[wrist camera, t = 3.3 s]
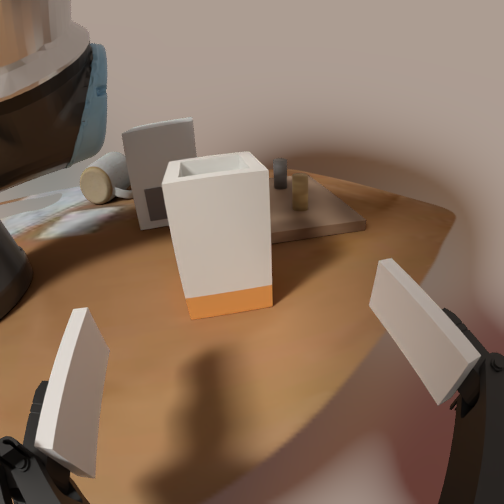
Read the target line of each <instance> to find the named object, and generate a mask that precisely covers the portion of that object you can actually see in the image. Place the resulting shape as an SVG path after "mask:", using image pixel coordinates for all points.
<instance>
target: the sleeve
mask: <svg viewBox="0 0 504 504" xmlns="http://www.w3.org/2000/svg"><path fill="white" fill-rule="evenodd" d="M162 190H163V195H164V201H165V206H166V212H167V217H168V222H169V227H170V232H171V237H172V242H173V246H174V251H175V256H176V260H177V265H178V269H179V273H180V278H181V282H182V286H183V290H184V294H185V298H186V302H187V306H188V310H189V314H190V318H191V320H194V319H200V318H207V317H213V316H220V315H226V314H232V313H238V312H244V311H250V310H255V309H261V308H267V307H272V306H273V300H272V258H271V224H270V196H269V171H268V169H267V168H266V167H265V166H264V165H263V164H262V163H260V162H259V161H258V160H257V159H256V158H255V157H254V156H253V155H252V154H251V153H250V152H249V151H247V152H237V153H228V154H220V155H211V156H204V157H196V158H189V159H183V160H176V161H170V162H169V163H168V166H167V169H166V172H165V175H164V178H163V182H162Z"/></svg>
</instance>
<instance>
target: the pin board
mask: <svg viewBox="0 0 504 504" xmlns="http://www.w3.org/2000/svg"><path fill="white" fill-rule="evenodd" d="M273 164H274V165H273V167H274V178H269V196H270V224H271V244H273V243H280V242H286V241H293V240H300V239H307V238H314V237H320V236H327V235H334V234H341V233H348V232H355V231H362V230H365V227H366V219H364V218H363V217H362V216H361V215H359V214H358V213H357V212H356V211H354V210H353V209H352V208H351V207H349V206H348V205H347V204H346V203H344V202H343V201H342V200H341V199H339V198H338V197H337V196H335V195H334V194H333V193H331V192H330V191H329V190H328V189H326V188H325V187H324V186H322V185H321V184H320V183H318V182H317V181H316V180H314V179H313V178H311V177H310V176H309V175H307V174H304V173H296V174H293V175H292V176H287V160H286V159H282V158H281V159H274V160H273Z"/></svg>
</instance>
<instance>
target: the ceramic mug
mask: <svg viewBox="0 0 504 504" xmlns="http://www.w3.org/2000/svg"><path fill="white" fill-rule="evenodd" d="M130 185H131V184H130V179H129V174H128V168H127V163H126V157H125V156H124V155H123V154H121V153H119V152H110V153H107V154H106V155H104V156H103V157H101V158H100V159H98V160H97V161H96V162H94V163H92V164H91V165H89V166H88V167H87V168H86V169H85V170H84V172H83V173H82V175H81V178H80V187H81V191H82V193H83V195H84V196H85V198H86V199H87V200H89V201H90V202H92V203H94V204H104V203H106V202H108V201H110V200H111V199H113V198H114V197H115V196H117V197H120V198H125V199H130V198H133V194H132V190H131V191H128V190H125V189H127V188H128V187H129V186H130Z"/></svg>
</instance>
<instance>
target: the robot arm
mask: <svg viewBox="0 0 504 504" xmlns="http://www.w3.org/2000/svg"><path fill="white" fill-rule="evenodd" d="M106 84H107V58H106V52H105V48H104V46H103V45H101V44H93V43H92V44H90V37H89V32H88V31H87V29H86V28H85V27H83V26H81V25H79V24H77V23H76V22H73V21H72V20H71V0H0V192H2V191H4V190H7V189H9V188H12V187H14V186H16V185H19V184H22V183H24V182H27V181H30V180H32V179H35V178H38V177H40V176H43V175H46V174H49V173H52V172H55V171H58V170H61V169H64V168H69V167H71V166H72V165H73V164H75V163H77V162H80V161H83V160H85V159H88V158H91V157H93V156H94V155H96V154H97V153H98V152H99V151H100V149H101V148H102V146H103V143H104V139H105V133H106V122H107V93H106V89H107V85H106ZM32 275H33V270H32V267H31V265H30V262H29V260H28V258H27V255H26V253H25V251H24V250H23V249H22V248H21V247H19V246H18V245H17V244H16V242H15V241H14V239H13V238H12V236H11V235H10V233H9V232H8V230H7V229H6V228H5V226H4V225H3V223H2V222H1V220H0V319H1V318H2V317H3V316H4V315H5V314H7V313H8V312H9V311H10V310H11V309H12V308H13V307H14V306H15V304H16V303H17V302H18V301H19V300H20V298H21V297H22V296H23V294H24V293H25V291H26V290H27V288H28V286H29V284H30V282H31V279H32ZM369 307H370V308H371V309H372V311H373V312H374V313H375V315H376V316H377V317H378V319H379V320H380V321H381V323H382V324H383V326H384V327H385V328H386V330H387V331H388V333H389V334H390V335H391V337H392V338H393V339H394V341H395V342H396V344H397V345H398V347H399V348H400V350H401V351H402V352H403V354H404V355H405V357H406V358H407V360H408V361H409V362H410V364H411V365H412V367H413V368H414V370H415V371H416V373H417V374H418V376H419V377H420V379H421V380H422V382H423V383H424V385H425V386H426V388H427V389H428V391H429V393H430V394H431V396H432V397H433V399H434V400H435V402H436V404H437V405H440V404H442V403H443V402H445V401H447V400H448V399H450V398H451V397H452V396H453V394H454V393H455V392H456V391H457V390H458V392H459V393H460V395H459V396H458V397H457V398H456V399H455V401H454V402H453V403H452V404H451V406H450V409H451V410H452V409H453V407H454V406H455V405H456V404H457V407H456V408H455V410H456V419H455V427H454V434H453V440H452V446H451V452H450V457H449V463H448V467H447V472H446V476H445V481H444V485H443V488H442V492H441V496H440V499H439V503H438V504H504V356H502V355H501V354H498V353H489V352H487V351H486V349H485V348H484V347H483V346H482V344H481V343H480V342H479V341H478V340H477V338H476V337H475V336H474V335H473V334H472V333H471V332H470V330H468V329H467V327H466V326H465V325H464V324H462V321H461V320H460V319H459V318H458V317H457V316H456V315H455V314H454V313H452V312H451V311H449V310H448V309H446V308H444V309H441V308H440V307H439V306H438V305H437V304H436V303H435V302H434V301H433V300H432V299H431V298H430V297H429V295H427V293H425V291H424V290H423V289H422V288H421V287H420V286H419V285H418V284H417V283H416V282H415V281H414V280H413V279H412V278H411V277H410V276H409V275H408V274H407V273H406V272H405V271H404V270H403V269H402V268H401V267H400V266H399V265H398V264H397V263H396V262H395V261H394V260H393V259H392V258H390V259H385V260H380V261H379V262H378V267H377V272H376V277H375V281H374V286H373V290H372V295H371V299H370V303H369ZM109 352H110V350H109V348H108V346H107V344H106V342H105V341H104V339H103V337H102V335H101V333H100V331H99V329H98V327H97V325H96V323H95V321H94V319H93V317H92V315H91V313H90V311H89V309H88V307H87V308H78V309H73V311H72V314H71V316H70V319H69V322H68V324H67V327H66V330H65V333H64V335H63V338H62V341H61V344H60V347H59V350H58V353H57V356H56V359H55V362H54V365H53V369H52V372H51V375H50V379H49V381H42V382H41V383H40V385H39V386H38V388H37V389H36V391H35V395H34V398H33V404H32V406H31V410H30V411H31V413H30V414H29V418H28V422H27V427H26V431H25V436H24V441H23V445H22V444H20V443H19V442H18V441H17V440H15V439H14V438H12V437H9V436H5V437H3V438H1V439H0V504H13V503H12V499H13V501H14V504H90V503H89V502H88V501H87V499H86V498H85V497H84V495H83V494H82V493H81V491H80V490H79V488H78V487H77V485H76V484H75V482H74V481H73V480H72V479H71V478H70V471H71V472H72V473H74V474H76V475H77V476H81V477H88V478H95V470H96V452H97V438H98V428H99V418H100V409H101V402H102V394H103V387H104V381H105V375H106V369H107V363H108V357H109ZM11 498H12V499H11Z"/></svg>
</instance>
